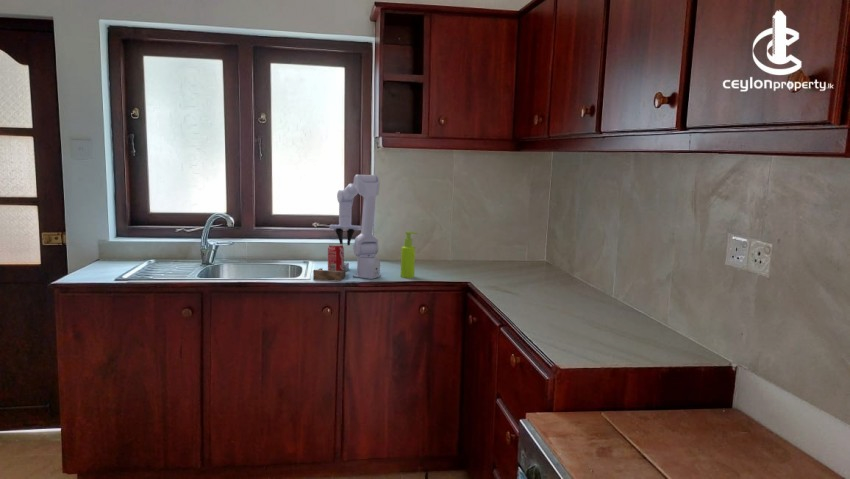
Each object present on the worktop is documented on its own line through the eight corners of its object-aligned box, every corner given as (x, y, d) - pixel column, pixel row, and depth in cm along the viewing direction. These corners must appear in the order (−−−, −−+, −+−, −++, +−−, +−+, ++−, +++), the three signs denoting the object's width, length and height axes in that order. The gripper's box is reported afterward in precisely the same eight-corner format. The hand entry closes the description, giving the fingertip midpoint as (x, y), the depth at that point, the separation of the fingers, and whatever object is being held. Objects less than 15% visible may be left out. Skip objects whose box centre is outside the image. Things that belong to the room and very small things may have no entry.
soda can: (342, 275, 257) (342, 245, 256) (326, 274, 257) (326, 245, 256) (345, 272, 264) (345, 243, 263) (329, 271, 264) (329, 243, 263)
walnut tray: (345, 276, 255) (345, 267, 254) (339, 280, 245) (340, 271, 245) (319, 275, 256) (319, 266, 256) (313, 279, 247) (313, 270, 246)
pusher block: (335, 268, 273) (335, 262, 273) (348, 269, 273) (348, 262, 272) (332, 271, 266) (332, 264, 266) (345, 272, 266) (345, 265, 265)
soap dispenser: (416, 278, 255) (417, 232, 252) (400, 278, 255) (401, 232, 252) (416, 275, 261) (417, 231, 258) (401, 275, 261) (402, 230, 258)
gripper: (362, 215, 277) (361, 244, 279) (332, 214, 279) (332, 243, 280) (359, 217, 270) (358, 246, 272) (328, 216, 272) (328, 245, 273)
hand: (344, 244), depth 276 cm, fingers open, 3 cm apart
